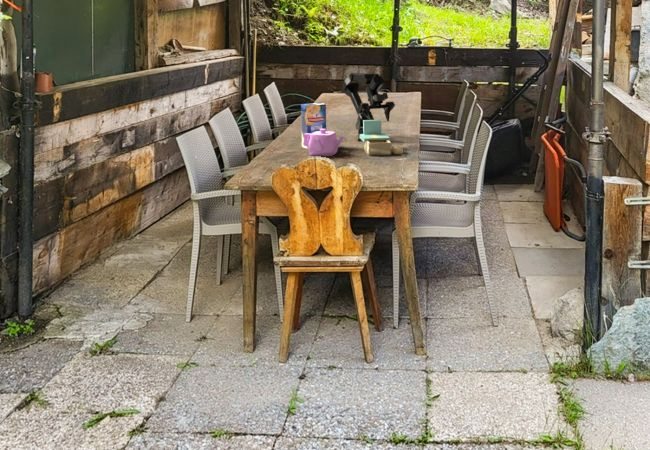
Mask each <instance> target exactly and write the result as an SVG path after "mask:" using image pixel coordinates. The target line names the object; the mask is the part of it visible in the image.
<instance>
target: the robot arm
mask: <svg viewBox="0 0 650 450" xmlns="http://www.w3.org/2000/svg"><path fill="white" fill-rule="evenodd" d="M384 82H385V80H384V78H383V77H382V76H381V75H379V73H374V72H372V73H371V72H368V73H359V72H352V73H350V74H349V75H348V77H346V78H345V80H344V81H343V84H342V91H343V93H344V94H345V95H346V96H347V97H349V98H350V100H351V102H352V105H353V107H354V109H355V111H356V114H357V118H356V123H355V126H354V128H355V130H357V132H358V134H357V135H358V136H357V142H363V141H362V140H361V139H360V134H363V120H375V117H374V116H373V114H372V111H371V110H376V109H378V110H379V109H383V110H384V112H383V113H384V116H385V119H386V121H387V122H389V121H390V116H391V115H390V114H391V111H393V109H394V108H395V106H396V104H395V102H394V101H386V100H388V99H389V97H388V96H389V94H388V93H387V92H382V93H379V91H378V90H380V89H381V88H382V86H383V84H384ZM361 85H366V87H365V89H364V92H365V93H366V94H367V95H366V96H367V101H368V102H369V103H368V102H363V101H362V98H361V96H360V94H359V88H360V86H361ZM385 101H386V102H385ZM384 102H385V103H384ZM383 103H384V104H383Z"/></svg>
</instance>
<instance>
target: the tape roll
mask: <svg viewBox="0 0 650 450" xmlns="http://www.w3.org/2000/svg"><path fill="white" fill-rule="evenodd" d="M393 153H394V155H402V154H403V153H404V147H403V146H400V145H395V146H392V154H393Z"/></svg>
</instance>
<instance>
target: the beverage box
mask: <svg viewBox="0 0 650 450" xmlns="http://www.w3.org/2000/svg"><path fill="white" fill-rule="evenodd" d="M300 113H301V114H300V118H301V119H300V121H301V122H300V123H301V128H300V129H301V147H302V148H305V149H308V147H306V146H305V145H303V144H304V134H312V133H314V132H316V131H320V129H326V130H327V104H326V103H322V102H316V103H315V102H314V103H301V104H300ZM309 139H310V137H309Z"/></svg>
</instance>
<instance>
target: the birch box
mask: <svg viewBox="0 0 650 450" xmlns="http://www.w3.org/2000/svg"><path fill="white" fill-rule="evenodd" d="M363 143H364V144H363V146H364V147H363V148H364V149H363V150H364V152H365V153H366V155H368V157H369V156H370V157H371V156H372V155H373V156H392V142H391V140H390V141H389V140H388V139H381V140H365V142H363Z"/></svg>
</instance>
